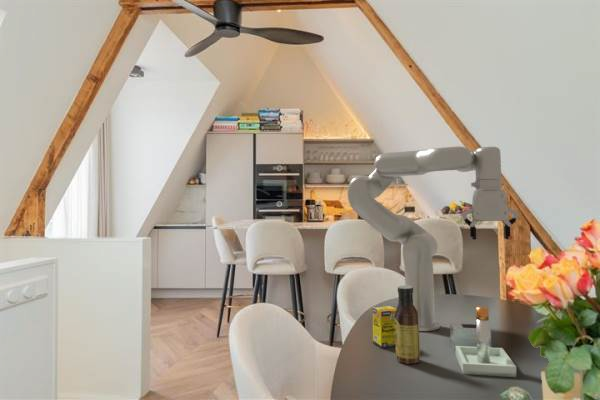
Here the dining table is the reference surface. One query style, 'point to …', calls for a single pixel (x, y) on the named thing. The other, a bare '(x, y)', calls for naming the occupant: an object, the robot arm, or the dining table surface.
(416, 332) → the sauce bottle
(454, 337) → the block
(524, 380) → the dining table surface
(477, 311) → the pin
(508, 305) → the dining table surface
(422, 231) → the robot arm
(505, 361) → the tray
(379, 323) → the supplement box
